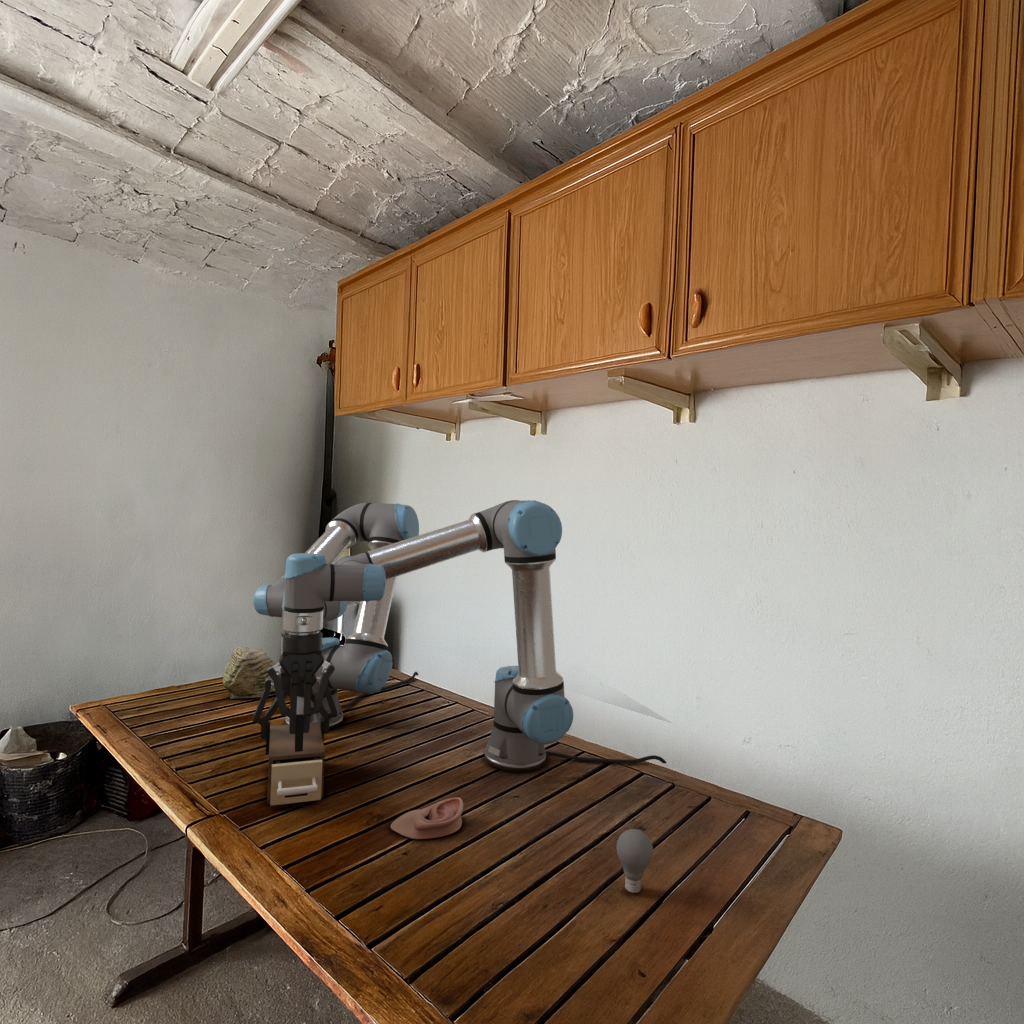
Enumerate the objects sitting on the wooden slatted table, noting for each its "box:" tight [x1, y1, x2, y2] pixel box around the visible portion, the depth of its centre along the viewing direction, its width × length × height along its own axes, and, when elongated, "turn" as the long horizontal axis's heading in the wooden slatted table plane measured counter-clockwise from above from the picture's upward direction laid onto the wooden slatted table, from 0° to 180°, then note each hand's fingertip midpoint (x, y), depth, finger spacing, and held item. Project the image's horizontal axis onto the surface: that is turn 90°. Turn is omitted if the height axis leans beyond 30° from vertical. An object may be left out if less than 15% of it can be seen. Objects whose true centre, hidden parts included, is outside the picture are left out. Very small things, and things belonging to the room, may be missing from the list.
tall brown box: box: [266, 723, 326, 805], centre depth 140 cm, size 18×11×10 cm, turn 20°
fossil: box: [222, 646, 280, 699], centre depth 198 cm, size 9×18×15 cm, turn 132°
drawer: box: [269, 756, 322, 806], centre depth 134 cm, size 22×10×8 cm, turn 20°
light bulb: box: [615, 828, 654, 894], centre depth 106 cm, size 6×6×10 cm
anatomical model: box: [390, 797, 464, 840], centre depth 124 cm, size 13×4×12 cm
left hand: (294, 749), depth 145 cm, fingers closed on tall brown box, 11 cm apart
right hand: (298, 748), depth 126 cm, fingers closed
